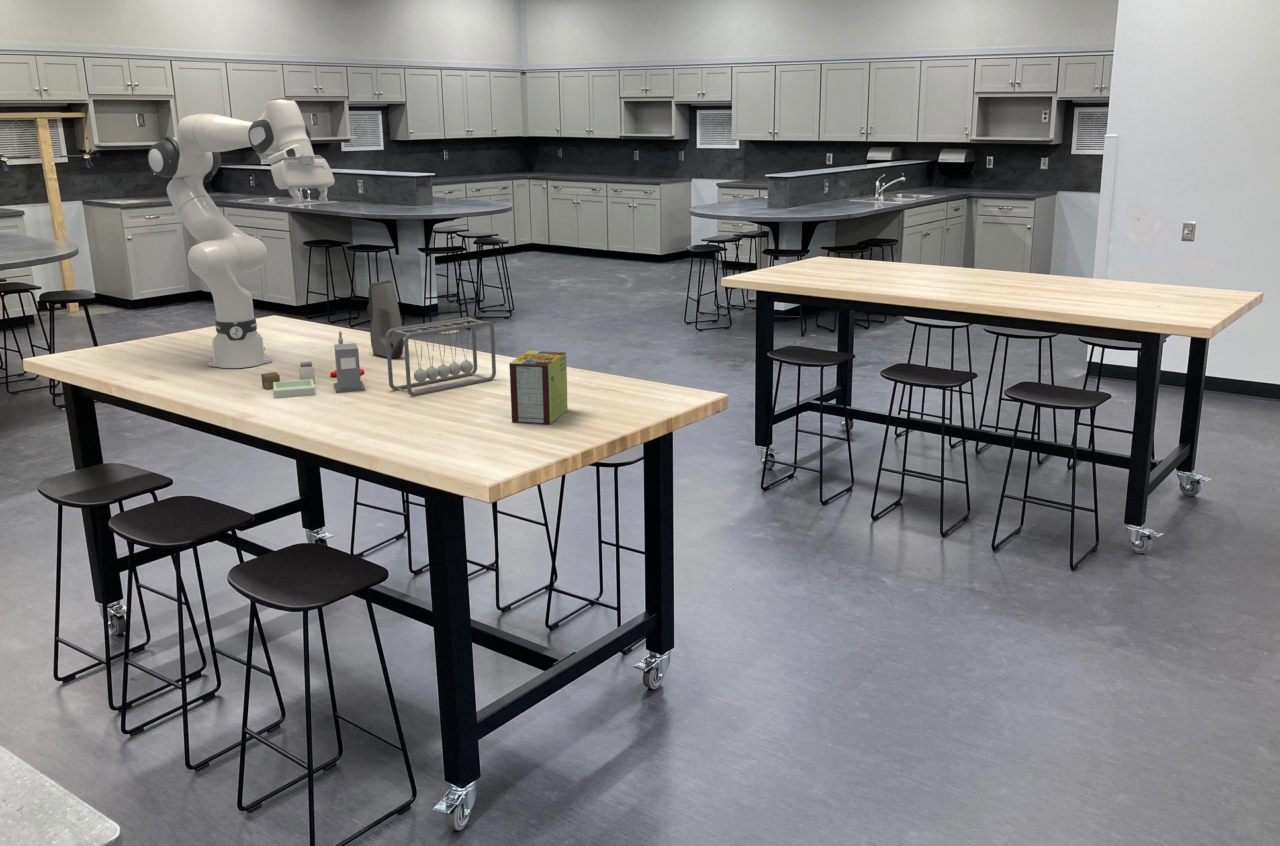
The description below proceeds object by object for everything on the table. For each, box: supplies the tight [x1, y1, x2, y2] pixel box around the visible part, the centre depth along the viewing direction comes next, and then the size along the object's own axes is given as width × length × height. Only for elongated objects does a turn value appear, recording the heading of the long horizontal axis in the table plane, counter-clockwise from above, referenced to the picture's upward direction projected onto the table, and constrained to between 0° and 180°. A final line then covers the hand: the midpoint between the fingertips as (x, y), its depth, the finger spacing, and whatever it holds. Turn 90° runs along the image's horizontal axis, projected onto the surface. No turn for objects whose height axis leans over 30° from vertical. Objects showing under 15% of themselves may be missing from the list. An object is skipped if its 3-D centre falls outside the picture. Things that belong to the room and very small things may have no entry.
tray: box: [272, 379, 316, 399], centre depth 295 cm, size 11×11×2 cm
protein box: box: [509, 350, 569, 425], centre depth 269 cm, size 10×15×16 cm
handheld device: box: [366, 279, 405, 360], centre depth 338 cm, size 6×15×25 cm, turn 46°
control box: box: [333, 342, 366, 394], centre depth 299 cm, size 10×8×12 cm
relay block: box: [298, 361, 316, 385], centre depth 305 cm, size 4×4×6 cm
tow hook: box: [329, 330, 365, 378], centre depth 316 cm, size 9×14×10 cm
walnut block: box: [260, 371, 281, 391], centre depth 301 cm, size 4×4×4 cm
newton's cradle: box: [386, 316, 497, 397], centre depth 301 cm, size 30×10×18 cm, turn 134°
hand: (312, 203), depth 298 cm, fingers open, 8 cm apart
